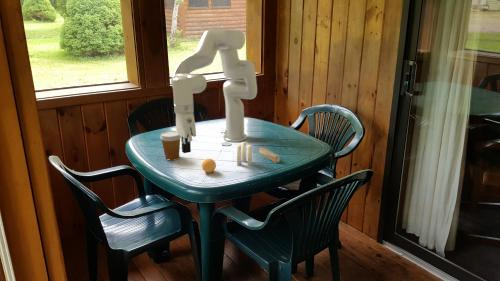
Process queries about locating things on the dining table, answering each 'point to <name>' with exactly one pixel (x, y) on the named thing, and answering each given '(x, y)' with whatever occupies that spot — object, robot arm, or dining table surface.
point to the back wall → (269, 154)
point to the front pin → (239, 155)
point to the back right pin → (249, 154)
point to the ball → (208, 165)
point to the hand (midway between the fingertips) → (186, 152)
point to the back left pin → (243, 151)
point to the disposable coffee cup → (171, 144)
